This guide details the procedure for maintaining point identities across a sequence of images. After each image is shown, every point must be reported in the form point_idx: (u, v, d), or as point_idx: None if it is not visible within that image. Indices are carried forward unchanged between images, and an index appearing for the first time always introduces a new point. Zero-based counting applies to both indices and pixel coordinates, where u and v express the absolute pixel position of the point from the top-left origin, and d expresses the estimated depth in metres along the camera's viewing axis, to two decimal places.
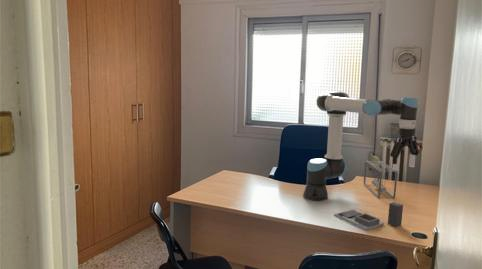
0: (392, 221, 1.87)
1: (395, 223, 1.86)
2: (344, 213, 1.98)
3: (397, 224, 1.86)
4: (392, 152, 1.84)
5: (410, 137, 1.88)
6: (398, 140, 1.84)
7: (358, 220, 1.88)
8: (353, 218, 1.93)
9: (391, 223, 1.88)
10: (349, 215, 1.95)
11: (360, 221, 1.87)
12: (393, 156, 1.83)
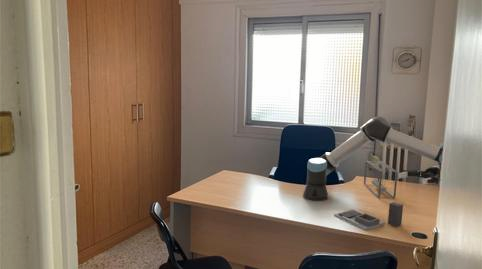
0: (392, 221, 1.87)
1: (395, 223, 1.86)
2: (344, 213, 1.98)
3: (397, 224, 1.86)
4: (438, 179, 1.87)
5: None
6: None
7: (358, 220, 1.88)
8: (353, 218, 1.93)
9: (391, 223, 1.88)
10: (349, 215, 1.95)
11: (360, 221, 1.87)
12: (437, 182, 1.85)
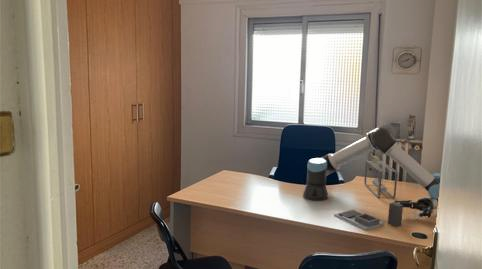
0: (392, 221, 1.87)
1: (395, 223, 1.86)
2: (344, 213, 1.98)
3: (397, 224, 1.86)
4: (430, 213, 1.87)
5: None
6: (432, 211, 1.92)
7: (358, 220, 1.88)
8: (353, 218, 1.93)
9: (391, 223, 1.88)
10: (349, 215, 1.95)
11: (360, 221, 1.87)
12: (429, 216, 1.85)
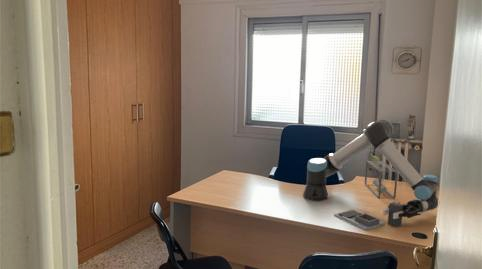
0: (392, 221, 1.87)
1: (395, 223, 1.86)
2: (344, 213, 1.98)
3: (397, 224, 1.86)
4: (411, 214, 1.84)
5: None
6: (419, 213, 1.88)
7: (358, 220, 1.88)
8: (353, 218, 1.93)
9: (391, 223, 1.88)
10: (349, 215, 1.95)
11: (360, 221, 1.87)
12: (408, 217, 1.84)
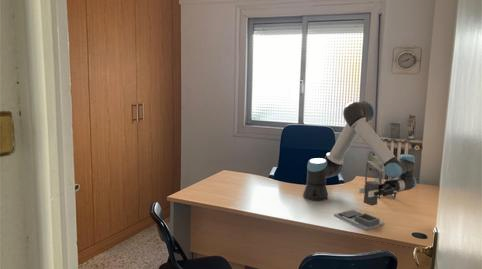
0: (367, 199, 1.86)
1: (371, 202, 1.84)
2: (344, 213, 1.98)
3: (373, 203, 1.84)
4: (386, 192, 1.83)
5: None
6: (395, 192, 1.86)
7: (358, 220, 1.88)
8: (353, 218, 1.93)
9: (367, 202, 1.86)
10: (349, 215, 1.95)
11: (360, 221, 1.87)
12: (384, 195, 1.82)
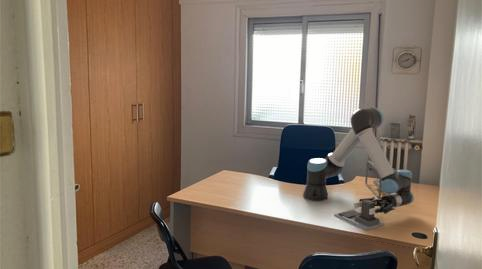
0: (364, 218, 1.87)
1: None
2: (344, 213, 1.98)
3: None
4: (387, 209, 1.83)
5: None
6: (393, 208, 1.88)
7: (358, 220, 1.88)
8: (353, 218, 1.93)
9: None
10: (349, 215, 1.95)
11: (360, 221, 1.87)
12: (385, 212, 1.82)
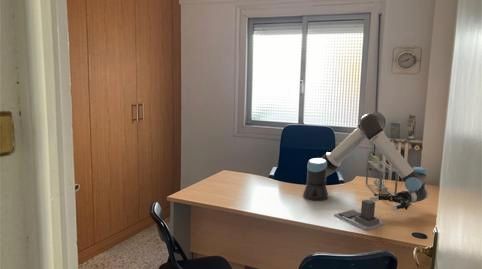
0: (364, 218, 1.87)
1: None
2: (344, 213, 1.98)
3: None
4: (408, 205, 1.89)
5: None
6: (410, 203, 1.95)
7: (358, 220, 1.88)
8: (353, 218, 1.93)
9: None
10: (349, 215, 1.95)
11: (360, 221, 1.87)
12: (406, 208, 1.88)
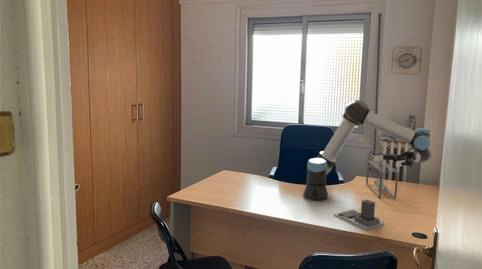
0: (364, 218, 1.87)
1: None
2: (344, 213, 1.98)
3: None
4: (412, 162, 1.93)
5: None
6: (414, 162, 1.99)
7: (358, 220, 1.88)
8: (353, 218, 1.93)
9: None
10: (349, 215, 1.95)
11: (360, 221, 1.87)
12: (411, 165, 1.92)
